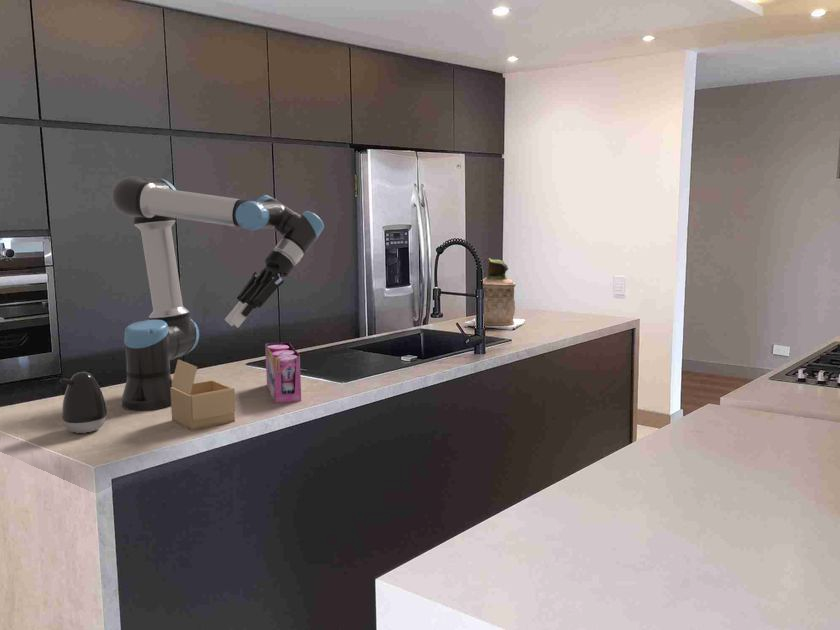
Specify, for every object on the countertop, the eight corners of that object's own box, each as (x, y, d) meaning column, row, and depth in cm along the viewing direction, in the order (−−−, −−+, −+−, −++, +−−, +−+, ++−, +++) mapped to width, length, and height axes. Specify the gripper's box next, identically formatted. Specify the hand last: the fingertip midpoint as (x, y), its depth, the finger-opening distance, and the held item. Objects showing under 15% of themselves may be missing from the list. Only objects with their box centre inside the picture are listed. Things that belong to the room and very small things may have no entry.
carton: (171, 419, 190) (169, 386, 189) (215, 411, 198) (213, 379, 197) (192, 431, 180) (190, 396, 179) (237, 421, 189) (235, 388, 187)
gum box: (303, 402, 207) (301, 356, 205) (275, 404, 205) (273, 358, 203) (291, 383, 230) (289, 341, 227) (266, 385, 227) (264, 343, 225)
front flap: (172, 385, 188) (171, 385, 188) (179, 359, 189) (177, 359, 188) (190, 394, 180) (189, 393, 180) (197, 366, 180) (196, 366, 180)
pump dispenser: (56, 431, 181) (51, 372, 178) (97, 421, 188) (93, 365, 186) (72, 439, 174) (67, 379, 171) (114, 430, 181) (110, 371, 179)
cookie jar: (514, 330, 326) (516, 260, 321) (463, 327, 334) (463, 259, 329) (526, 322, 348) (527, 256, 343) (477, 319, 357) (478, 255, 352)
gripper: (307, 269, 196) (254, 336, 188) (277, 265, 208) (227, 328, 199) (289, 250, 192) (235, 318, 183) (260, 248, 203) (208, 311, 195)
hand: (231, 323), depth 191 cm, fingers open, 3 cm apart
